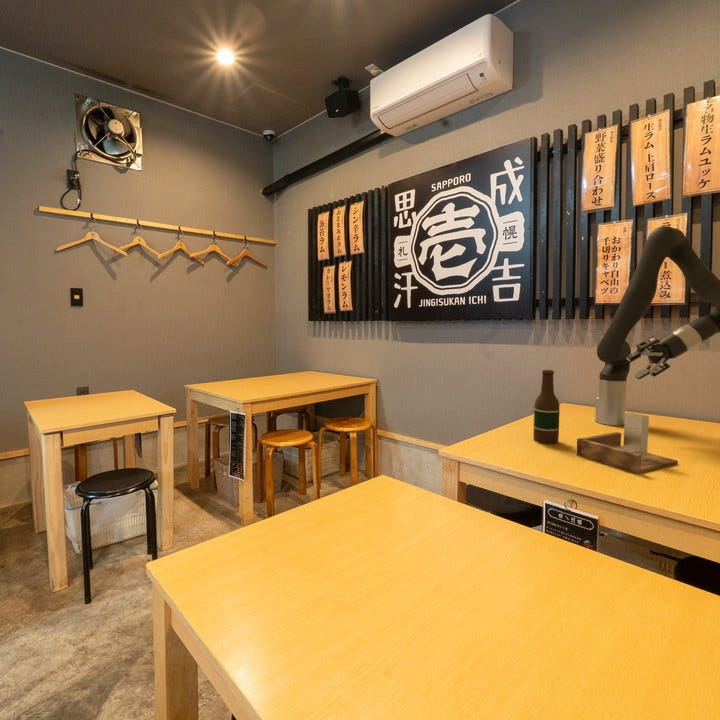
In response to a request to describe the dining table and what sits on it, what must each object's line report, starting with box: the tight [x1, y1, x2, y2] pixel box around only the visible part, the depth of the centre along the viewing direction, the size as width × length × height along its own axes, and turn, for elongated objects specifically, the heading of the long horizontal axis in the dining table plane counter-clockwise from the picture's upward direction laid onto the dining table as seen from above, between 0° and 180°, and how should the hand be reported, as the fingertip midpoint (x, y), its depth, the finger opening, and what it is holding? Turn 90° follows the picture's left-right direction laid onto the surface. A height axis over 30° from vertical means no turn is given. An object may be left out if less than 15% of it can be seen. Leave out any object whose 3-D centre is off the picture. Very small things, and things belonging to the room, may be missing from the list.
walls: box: [576, 431, 641, 470], centre depth 124 cm, size 18×18×4 cm
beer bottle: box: [533, 369, 561, 445], centre depth 143 cm, size 8×8×24 cm
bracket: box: [614, 412, 650, 458], centre depth 123 cm, size 9×5×12 cm, turn 115°
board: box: [576, 446, 679, 475], centre depth 124 cm, size 18×18×1 cm
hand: (632, 368), depth 143 cm, fingers open, 8 cm apart
